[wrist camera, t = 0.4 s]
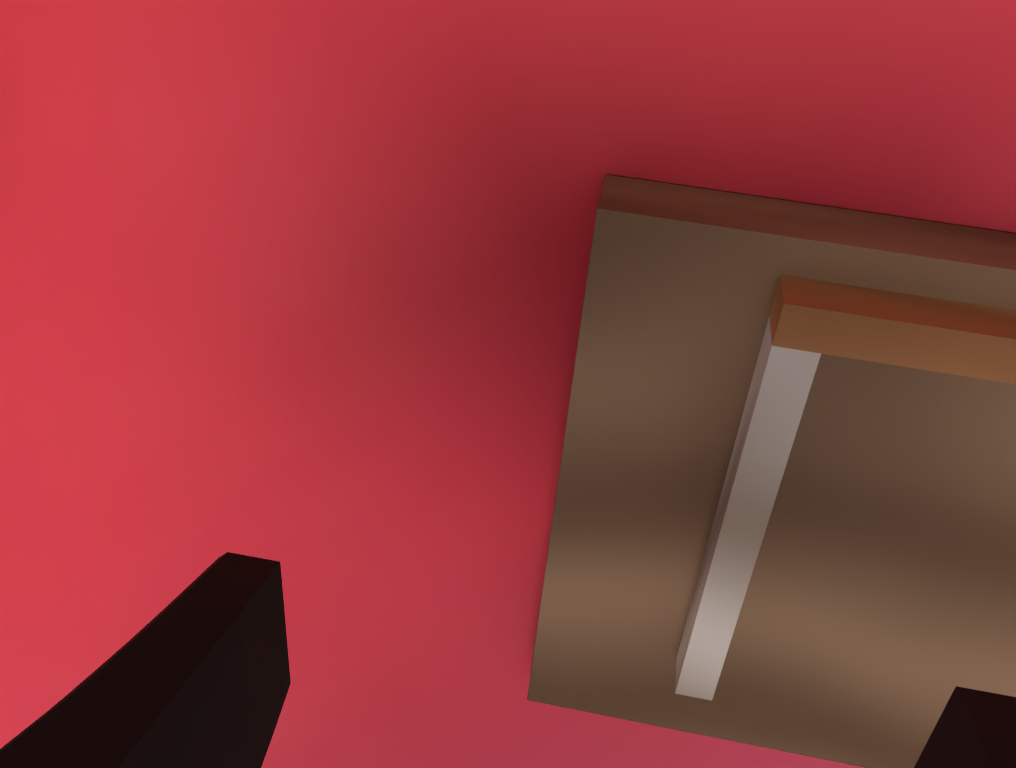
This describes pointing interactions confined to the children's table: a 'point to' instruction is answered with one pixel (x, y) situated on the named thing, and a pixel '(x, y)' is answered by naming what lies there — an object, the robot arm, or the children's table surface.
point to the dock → (785, 475)
